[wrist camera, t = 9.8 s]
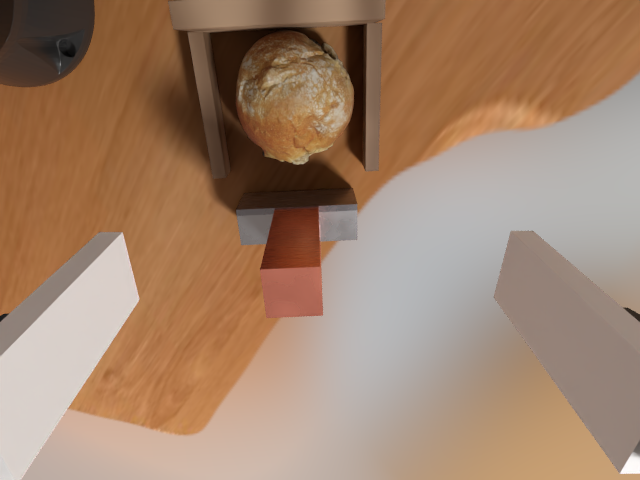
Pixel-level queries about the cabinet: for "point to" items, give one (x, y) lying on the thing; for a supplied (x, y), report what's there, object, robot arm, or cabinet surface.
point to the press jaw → (295, 242)
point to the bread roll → (293, 96)
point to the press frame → (266, 14)
